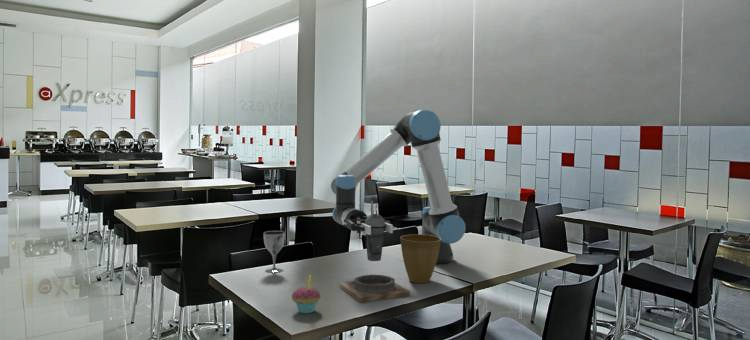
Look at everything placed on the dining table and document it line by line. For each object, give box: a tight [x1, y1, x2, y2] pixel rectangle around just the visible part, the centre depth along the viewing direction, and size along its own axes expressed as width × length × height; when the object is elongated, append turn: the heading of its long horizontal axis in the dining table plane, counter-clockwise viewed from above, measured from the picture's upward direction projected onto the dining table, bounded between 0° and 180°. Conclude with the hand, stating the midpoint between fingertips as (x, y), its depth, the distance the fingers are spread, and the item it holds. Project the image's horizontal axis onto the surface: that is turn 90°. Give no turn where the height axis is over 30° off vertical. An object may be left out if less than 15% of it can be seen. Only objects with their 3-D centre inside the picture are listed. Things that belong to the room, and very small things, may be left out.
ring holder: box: [339, 274, 411, 303], centre depth 177 cm, size 18×18×4 cm
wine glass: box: [263, 230, 286, 274], centre depth 203 cm, size 8×8×15 cm
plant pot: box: [399, 233, 441, 284], centre depth 190 cm, size 15×15×16 cm
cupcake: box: [291, 272, 321, 314], centre depth 156 cm, size 9×8×12 cm
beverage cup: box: [365, 200, 386, 262], centre depth 176 cm, size 7×7×20 cm
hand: (380, 229), depth 171 cm, fingers closed on beverage cup, 7 cm apart
